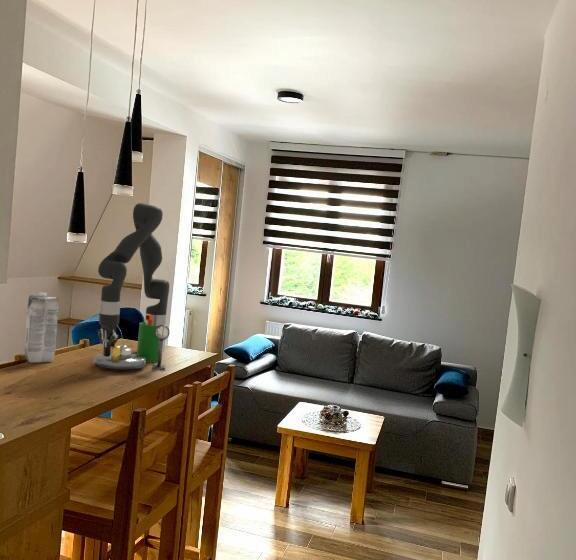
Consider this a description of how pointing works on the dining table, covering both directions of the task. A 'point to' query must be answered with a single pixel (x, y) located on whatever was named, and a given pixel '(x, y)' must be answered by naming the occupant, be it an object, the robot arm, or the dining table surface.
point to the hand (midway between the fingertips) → (106, 356)
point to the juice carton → (41, 328)
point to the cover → (125, 352)
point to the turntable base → (118, 369)
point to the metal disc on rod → (160, 344)
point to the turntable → (119, 360)
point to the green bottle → (148, 340)
